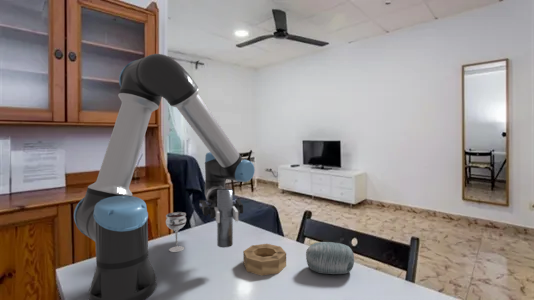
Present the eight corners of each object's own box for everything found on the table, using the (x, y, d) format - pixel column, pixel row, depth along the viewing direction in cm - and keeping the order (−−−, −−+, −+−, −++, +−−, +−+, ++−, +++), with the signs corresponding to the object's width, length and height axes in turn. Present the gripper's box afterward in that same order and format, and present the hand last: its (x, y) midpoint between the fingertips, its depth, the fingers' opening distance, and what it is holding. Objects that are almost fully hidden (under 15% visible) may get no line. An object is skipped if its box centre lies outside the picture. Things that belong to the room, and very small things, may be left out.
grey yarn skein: (355, 253, 86) (348, 230, 82) (359, 282, 78) (351, 257, 74) (311, 258, 90) (302, 236, 86) (311, 286, 82) (301, 263, 78)
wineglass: (168, 245, 101) (168, 212, 100) (188, 244, 102) (187, 211, 101) (164, 253, 94) (163, 218, 94) (185, 252, 95) (184, 217, 94)
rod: (218, 248, 80) (218, 191, 79) (216, 242, 84) (216, 188, 83) (233, 246, 81) (233, 191, 80) (231, 241, 85) (231, 188, 84)
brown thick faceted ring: (249, 277, 79) (249, 263, 78) (241, 258, 90) (241, 246, 90) (290, 271, 82) (290, 258, 82) (277, 254, 94) (277, 242, 93)
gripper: (242, 207, 102) (258, 228, 79) (192, 210, 97) (194, 233, 75) (242, 186, 101) (259, 201, 79) (192, 189, 97) (194, 205, 74)
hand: (227, 217), depth 77 cm, fingers closed on rod, 4 cm apart
